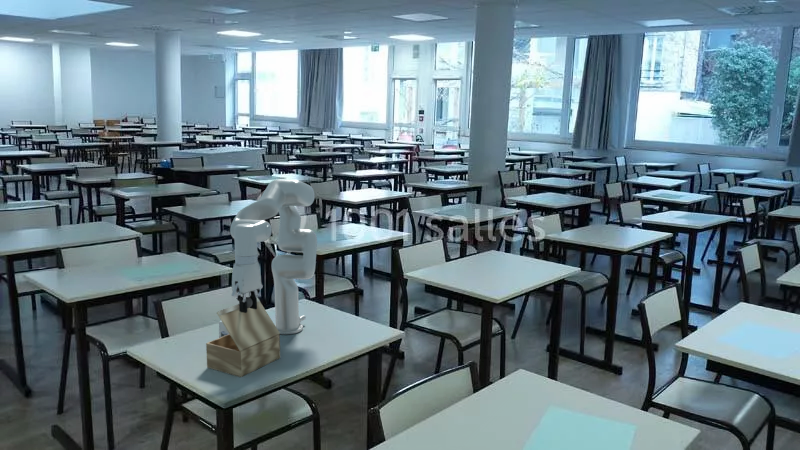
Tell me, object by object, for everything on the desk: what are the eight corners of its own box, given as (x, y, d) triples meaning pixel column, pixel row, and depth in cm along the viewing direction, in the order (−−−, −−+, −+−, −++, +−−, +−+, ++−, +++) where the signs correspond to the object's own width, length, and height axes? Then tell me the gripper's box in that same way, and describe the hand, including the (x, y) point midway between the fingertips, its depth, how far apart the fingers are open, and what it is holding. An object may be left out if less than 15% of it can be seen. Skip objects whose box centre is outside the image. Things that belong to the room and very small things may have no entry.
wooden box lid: (256, 298, 231) (266, 288, 228) (279, 334, 228) (289, 324, 225) (216, 312, 215) (225, 302, 212) (239, 351, 212) (250, 341, 208)
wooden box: (247, 349, 238) (247, 326, 236) (280, 358, 230) (279, 334, 228) (207, 367, 221) (206, 343, 219) (240, 377, 213) (239, 352, 211)
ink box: (229, 343, 244) (228, 314, 242) (241, 344, 243) (240, 315, 241) (219, 351, 236) (217, 321, 234) (231, 352, 235) (230, 322, 233)
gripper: (255, 253, 226) (257, 302, 230) (220, 262, 212) (222, 314, 215) (271, 256, 223) (272, 305, 226) (236, 265, 208) (238, 318, 212)
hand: (248, 309), depth 221 cm, fingers closed on wooden box lid, 4 cm apart
